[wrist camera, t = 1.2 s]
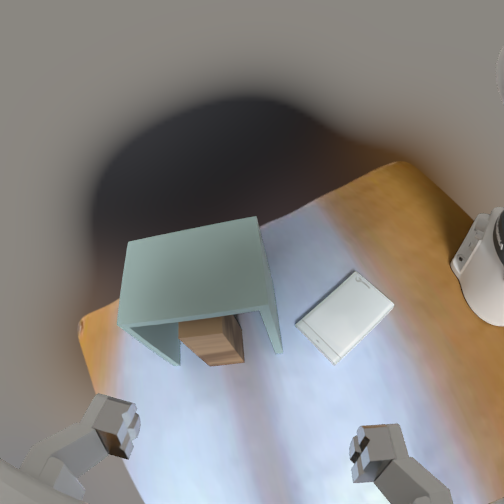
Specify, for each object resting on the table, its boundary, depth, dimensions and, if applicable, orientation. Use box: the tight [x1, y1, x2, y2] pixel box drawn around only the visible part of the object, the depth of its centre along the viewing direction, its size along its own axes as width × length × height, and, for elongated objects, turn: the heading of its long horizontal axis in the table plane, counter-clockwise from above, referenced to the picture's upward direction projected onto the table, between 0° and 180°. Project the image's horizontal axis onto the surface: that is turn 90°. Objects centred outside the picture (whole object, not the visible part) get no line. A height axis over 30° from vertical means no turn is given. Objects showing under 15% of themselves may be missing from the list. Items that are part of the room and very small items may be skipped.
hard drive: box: [295, 271, 394, 366], centre depth 43 cm, size 2×8×12 cm
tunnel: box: [117, 216, 283, 366], centre depth 40 cm, size 11×16×16 cm
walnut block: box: [178, 315, 244, 366], centre depth 39 cm, size 5×5×12 cm
